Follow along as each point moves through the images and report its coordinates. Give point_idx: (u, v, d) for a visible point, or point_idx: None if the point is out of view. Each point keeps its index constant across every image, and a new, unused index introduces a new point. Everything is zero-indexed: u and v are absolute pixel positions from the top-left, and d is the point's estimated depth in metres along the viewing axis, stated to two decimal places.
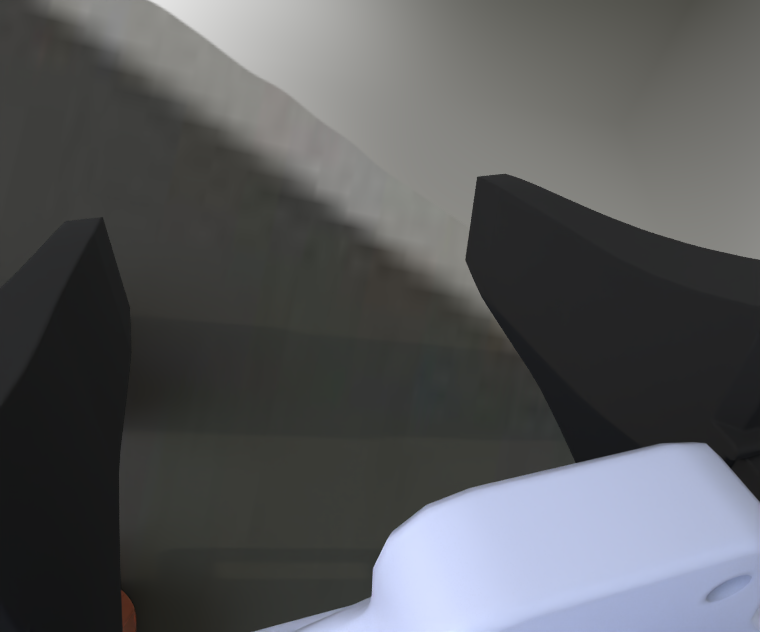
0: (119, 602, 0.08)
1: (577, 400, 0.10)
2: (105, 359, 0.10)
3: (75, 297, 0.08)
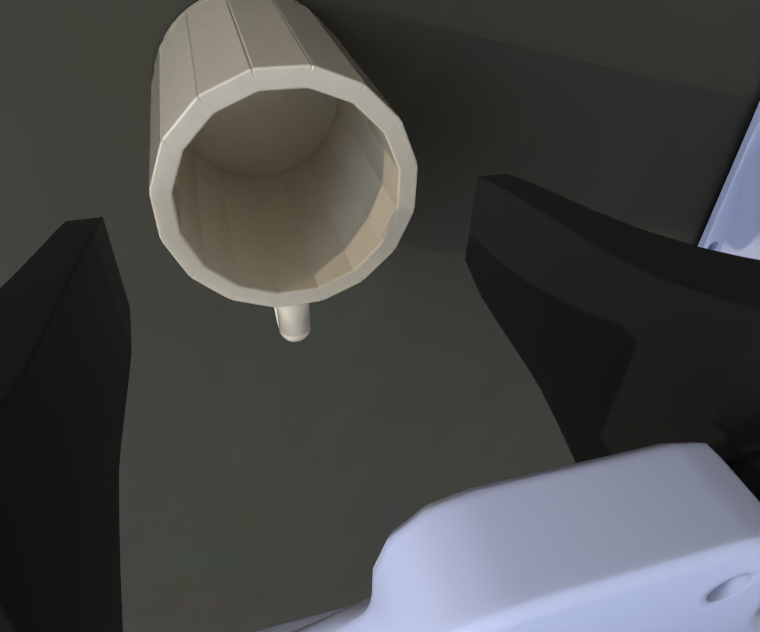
0: (119, 602, 0.08)
1: (577, 400, 0.10)
2: (105, 359, 0.10)
3: (75, 297, 0.08)
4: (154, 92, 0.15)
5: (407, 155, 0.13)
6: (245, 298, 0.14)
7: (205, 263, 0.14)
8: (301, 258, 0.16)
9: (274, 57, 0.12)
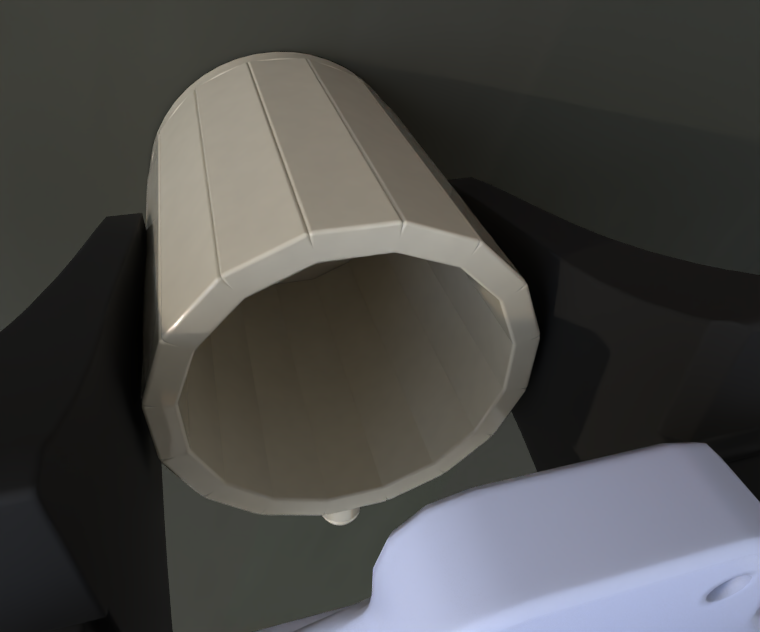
0: (167, 590, 0.09)
1: (537, 408, 0.10)
2: None
3: (124, 290, 0.09)
4: (151, 206, 0.11)
5: (528, 325, 0.09)
6: (281, 511, 0.10)
7: (225, 478, 0.09)
8: (354, 431, 0.11)
9: (341, 204, 0.07)
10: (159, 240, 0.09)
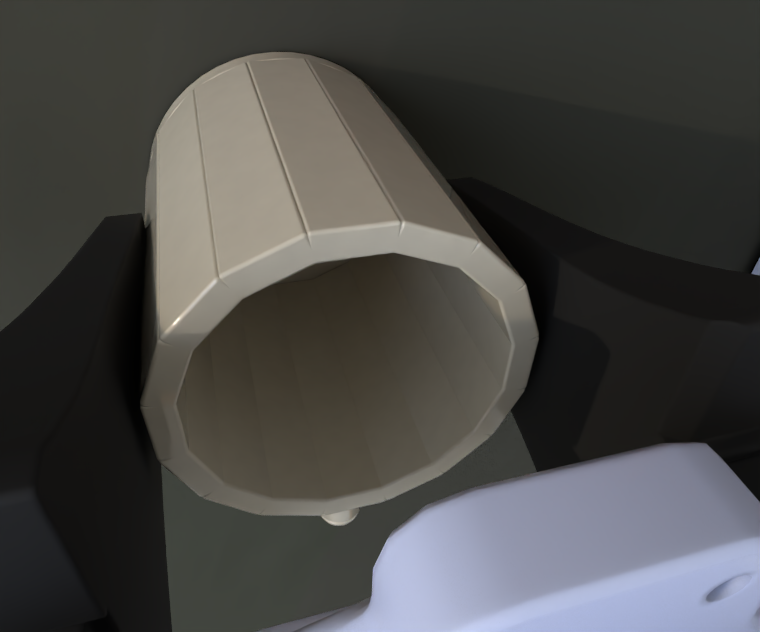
0: (167, 590, 0.09)
1: (537, 408, 0.10)
2: None
3: (124, 290, 0.09)
4: (149, 206, 0.11)
5: (527, 325, 0.09)
6: (280, 511, 0.10)
7: (224, 478, 0.09)
8: (353, 431, 0.11)
9: (339, 204, 0.07)
10: (158, 240, 0.09)
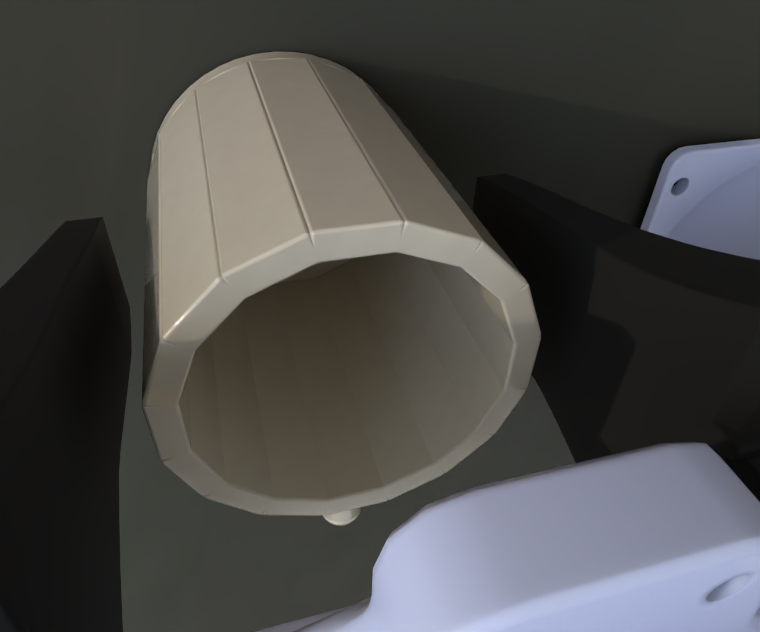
0: (119, 602, 0.08)
1: (577, 400, 0.10)
2: (105, 359, 0.10)
3: (75, 297, 0.08)
4: (151, 206, 0.11)
5: (529, 325, 0.09)
6: (282, 511, 0.10)
7: (225, 478, 0.09)
8: (355, 431, 0.11)
9: (342, 203, 0.07)
10: (160, 240, 0.09)
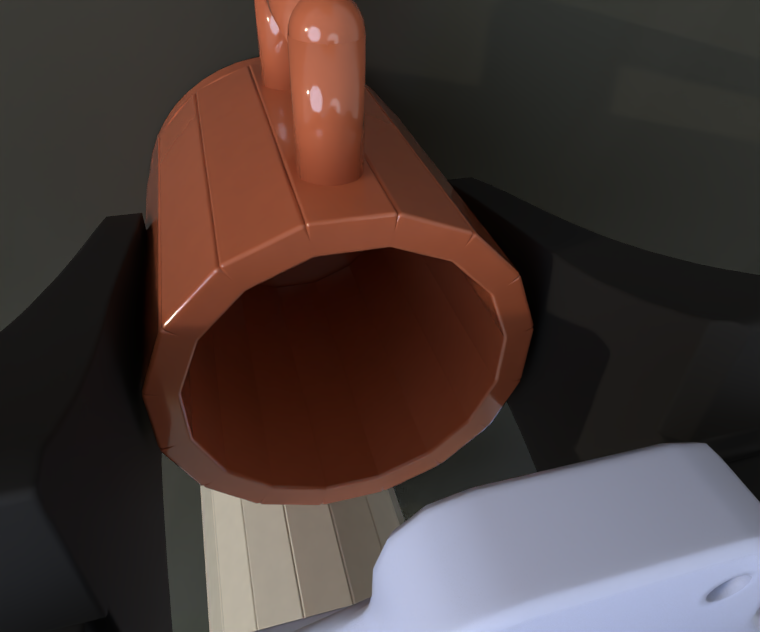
0: (167, 590, 0.09)
1: (537, 408, 0.10)
2: None
3: (124, 290, 0.09)
4: (208, 530, 0.17)
5: None
6: None
7: None
8: None
9: (326, 611, 0.13)
10: (220, 590, 0.15)
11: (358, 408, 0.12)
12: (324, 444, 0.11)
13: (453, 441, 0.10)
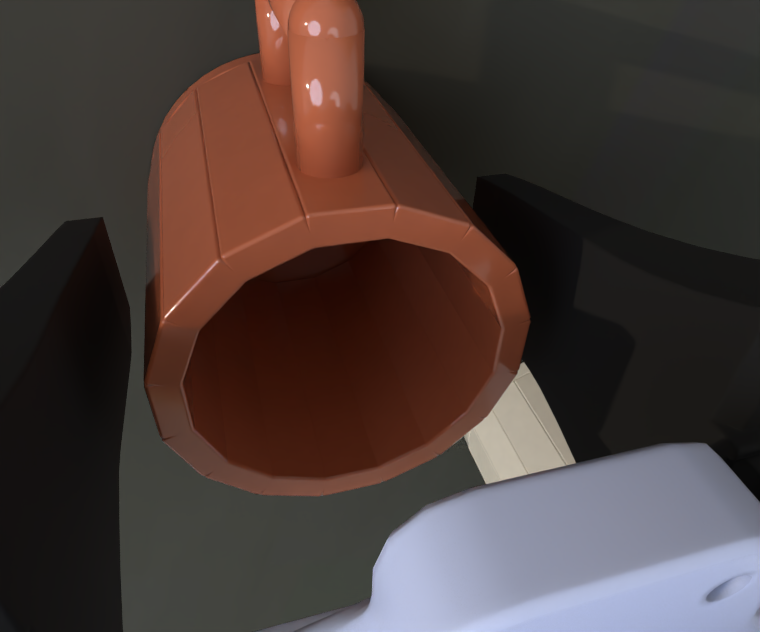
0: (119, 602, 0.08)
1: (577, 400, 0.10)
2: (105, 359, 0.10)
3: (75, 297, 0.08)
4: (502, 458, 0.19)
5: None
6: None
7: None
8: None
9: None
10: None
11: (357, 401, 0.12)
12: (323, 436, 0.11)
13: (451, 433, 0.11)
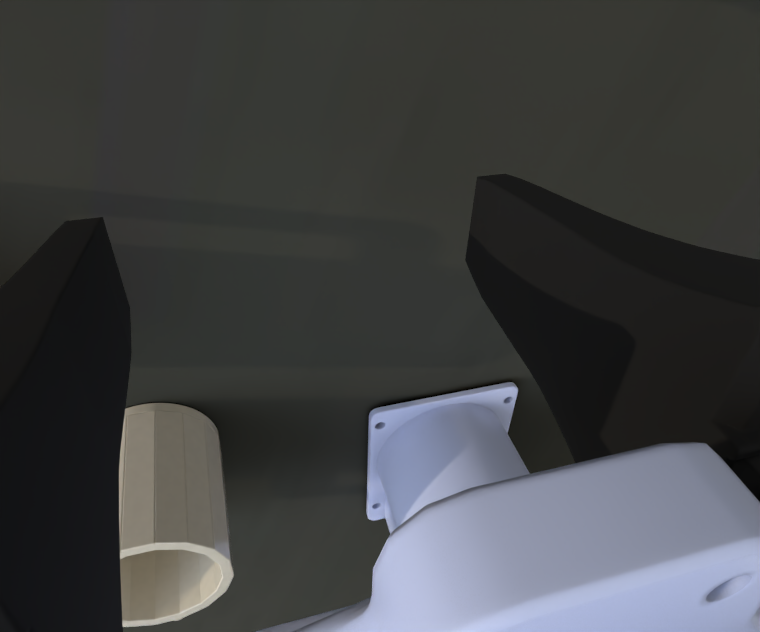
0: (119, 602, 0.08)
1: (577, 400, 0.10)
2: (105, 359, 0.10)
3: (75, 297, 0.08)
4: None
5: (222, 558, 0.23)
6: (133, 625, 0.24)
7: None
8: (174, 583, 0.25)
9: (136, 533, 0.21)
10: None
11: None
12: None
13: None
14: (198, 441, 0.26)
